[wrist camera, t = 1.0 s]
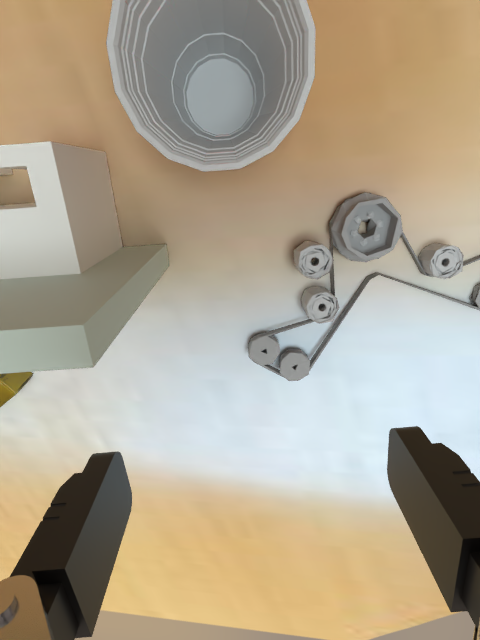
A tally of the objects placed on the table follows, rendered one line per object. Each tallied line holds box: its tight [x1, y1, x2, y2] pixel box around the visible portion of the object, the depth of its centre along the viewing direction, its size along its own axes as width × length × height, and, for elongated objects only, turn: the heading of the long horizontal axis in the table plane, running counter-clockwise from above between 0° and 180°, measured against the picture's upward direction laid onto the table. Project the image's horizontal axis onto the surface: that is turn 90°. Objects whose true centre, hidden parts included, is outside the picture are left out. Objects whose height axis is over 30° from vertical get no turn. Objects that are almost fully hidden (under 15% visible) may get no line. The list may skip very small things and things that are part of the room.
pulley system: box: [248, 192, 480, 381], centre depth 34 cm, size 27×5×15 cm
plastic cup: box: [106, 0, 315, 172], centre depth 25 cm, size 11×11×12 cm
